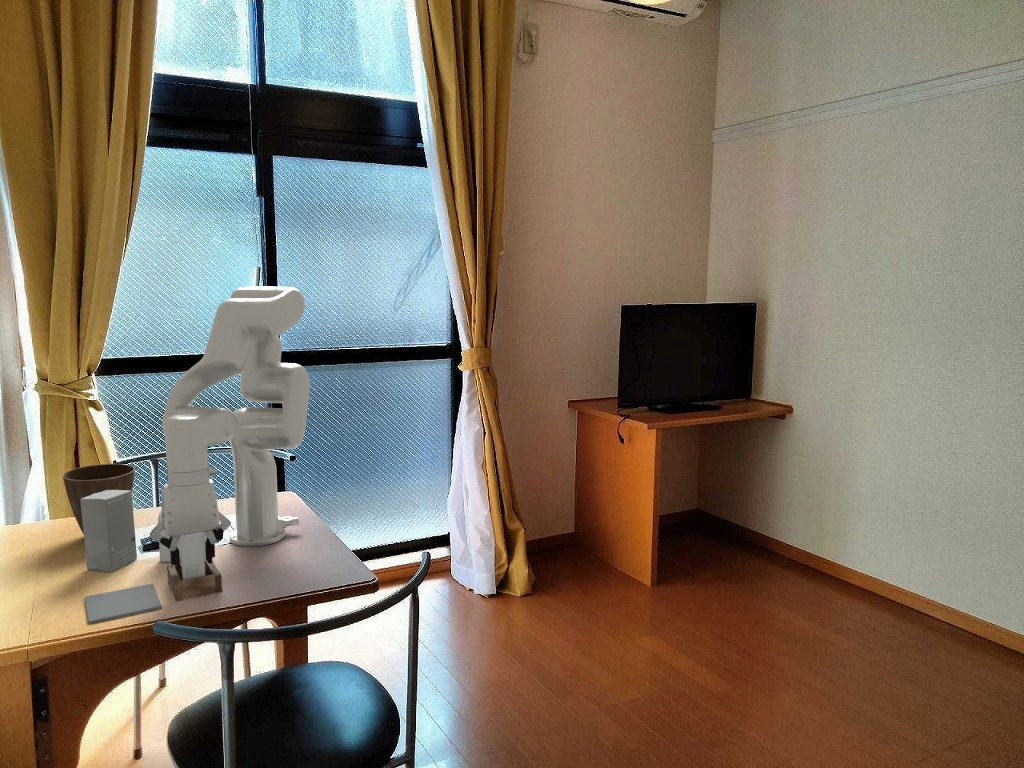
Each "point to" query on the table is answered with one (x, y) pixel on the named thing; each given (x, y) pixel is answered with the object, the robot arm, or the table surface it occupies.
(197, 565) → the skincare box
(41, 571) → the table surface
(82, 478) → the plant pot
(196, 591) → the frame
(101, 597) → the grey mat
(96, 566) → the skincare box
